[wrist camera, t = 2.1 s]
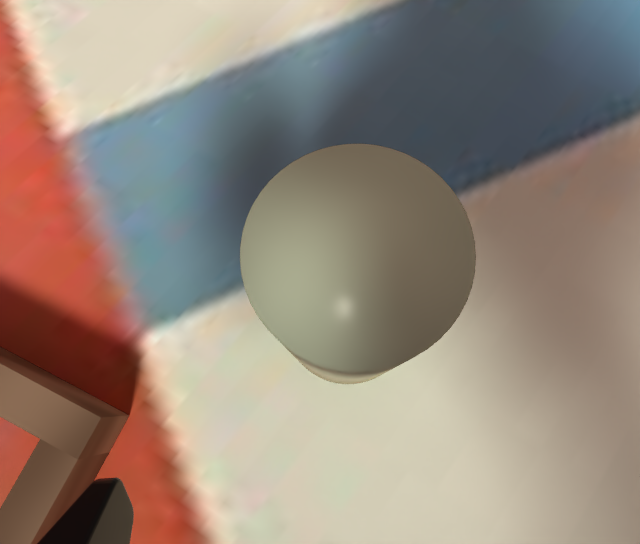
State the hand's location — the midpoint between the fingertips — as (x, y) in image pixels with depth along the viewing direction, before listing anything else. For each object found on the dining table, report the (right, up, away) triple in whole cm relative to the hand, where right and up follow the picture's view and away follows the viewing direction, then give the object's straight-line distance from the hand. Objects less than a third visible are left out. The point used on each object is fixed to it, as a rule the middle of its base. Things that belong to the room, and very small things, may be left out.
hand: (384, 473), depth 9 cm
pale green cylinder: (0, +2, +12) cm, 12 cm away
